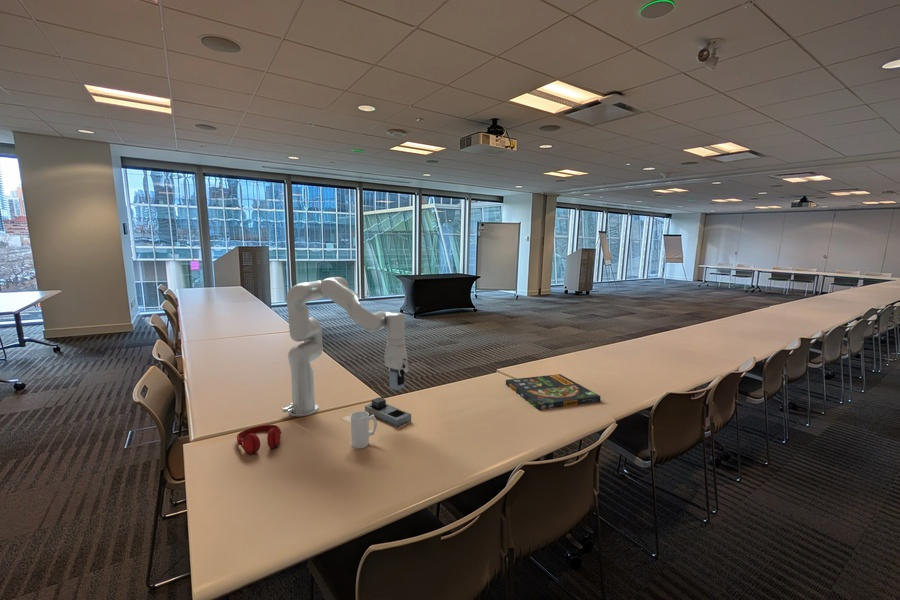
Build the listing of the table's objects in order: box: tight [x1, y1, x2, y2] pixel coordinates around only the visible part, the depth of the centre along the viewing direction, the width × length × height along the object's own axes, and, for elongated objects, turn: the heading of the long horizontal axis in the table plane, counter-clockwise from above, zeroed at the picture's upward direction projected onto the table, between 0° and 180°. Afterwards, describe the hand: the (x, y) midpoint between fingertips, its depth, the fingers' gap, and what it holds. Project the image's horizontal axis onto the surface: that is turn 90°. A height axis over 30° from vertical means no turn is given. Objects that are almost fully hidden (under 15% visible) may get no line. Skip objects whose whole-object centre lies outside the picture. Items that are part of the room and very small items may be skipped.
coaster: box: [340, 414, 351, 425], centre depth 167 cm, size 10×10×1 cm
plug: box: [388, 368, 405, 391], centre depth 162 cm, size 4×4×9 cm
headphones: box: [236, 424, 282, 454], centre depth 146 cm, size 15×7×20 cm
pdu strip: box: [364, 397, 412, 429], centre depth 168 cm, size 8×22×6 cm, turn 50°
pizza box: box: [505, 373, 601, 411], centre depth 200 cm, size 35×35×4 cm
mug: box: [350, 410, 378, 450], centre depth 145 cm, size 10×7×12 cm, turn 119°
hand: (396, 382), depth 163 cm, fingers closed on plug, 4 cm apart
